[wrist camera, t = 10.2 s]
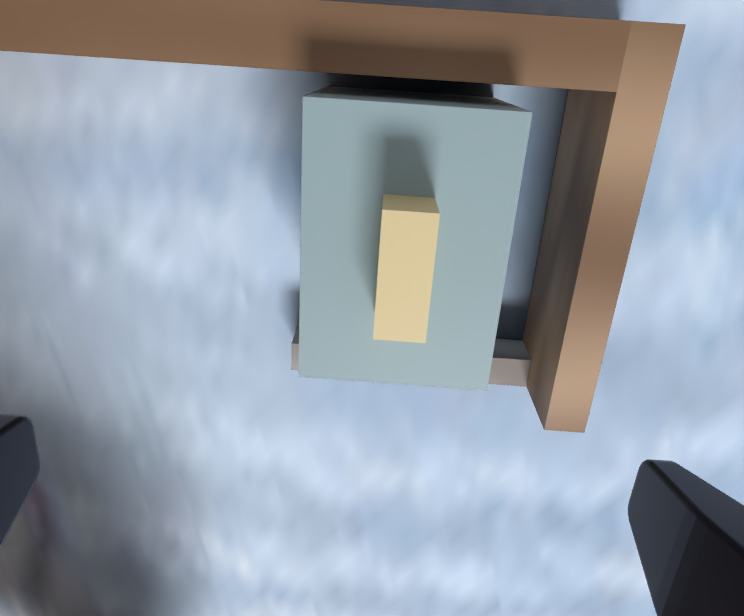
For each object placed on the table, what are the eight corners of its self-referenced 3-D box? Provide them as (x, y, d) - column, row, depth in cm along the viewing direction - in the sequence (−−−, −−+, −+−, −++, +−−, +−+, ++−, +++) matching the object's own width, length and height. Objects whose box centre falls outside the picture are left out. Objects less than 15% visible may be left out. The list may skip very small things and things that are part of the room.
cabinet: (464, 308, 20) (496, 423, 14) (322, 298, 20) (289, 407, 14) (492, 97, 18) (549, 118, 11) (328, 86, 18) (291, 100, 11)
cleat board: (551, 367, 21) (584, 432, 17) (24, 329, 21) (-53, 386, 17) (621, 32, 17) (685, 24, 13) (-42, -12, 17) (-164, -33, 13)
